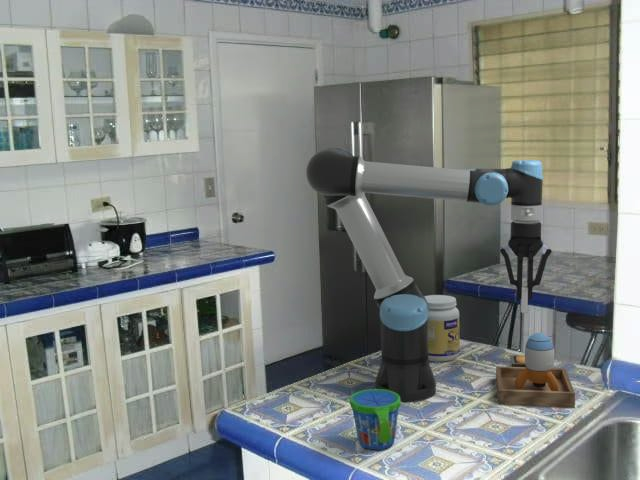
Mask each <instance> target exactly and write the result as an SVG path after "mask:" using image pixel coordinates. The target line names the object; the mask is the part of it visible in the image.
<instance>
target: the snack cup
mask: <svg viewBox="0 0 640 480" xmlns="http://www.w3.org/2000/svg"><path fill="white" fill-rule="evenodd" d="M349 405H350V407H351V410H352V413H353V420H354V424H355V430H356V435H357V439H358V443H359V444H360V446H362V447H363V448H364V449H368V450H375V451H377V450H380V451H382V450H384V449H388V448H390V447H392V446H393V445H394V443H395V440H396V434H397V433H396V432H397V425H398V416H399V409H400V407H401V405H402V401H401V400H400V396H399V395H398V394H397V393H395V392H393V391H389V390H383V389H375V388H371V389H370V388H369V389H364V390H359V391H357V392H355V393H353V394H351V396H350V398H349Z"/></svg>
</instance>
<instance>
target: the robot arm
mask: <svg viewBox="0 0 640 480" xmlns="http://www.w3.org/2000/svg"><path fill="white" fill-rule="evenodd" d="M306 165H307V166H306V169H305V171H306V172H305V174H306V179H307V182H308V184H309V186H310V187H311V188H312V190H314V191H315V192H317V194H321V196H322V198H323V200H324V202H325V204H326V206H327V207H328V208H331V209H334V210H335V212H336V213H337V215H338V217H339V219H340V221H341V223H342V226H343V227H344V229H345V231H346V233H347V235H348V238H349V239H350V240H351V242H352V245H353V248H355V251H356V253H357V254H358V257H359V258H360V260H361V263H362V265H363V266H364V269H365V270H366V272H367V274H368V277H369V278H370V280H371V283H372V285H373V286H374V288H375V292H374V296H373V299H374V300H375V303H376V305H377V307H378V308H379V318H380V341H381V344H380V345H381V347H380V348H381V350H380V353H381V354H380V355H381V361H380V362H381V363H380V365H379V368H378V372H377V376H376V379H375V382H374V383H375V384H374V385H375V386H374V389H383V390H389V391H393V392H395V393H397V394H398V395H399V396H400V400H401V403H402V402H407V403H408V402H409V403H410V402H411V403H412V402H418V401H424V400H427V399H429V398H432V397H433V396H434V395H436V392H437V382H436V379H435V376H434V373H433V370H432V368H431V365H430V361H428V315H429V308H428V303H427V300H426V298H425V297H424V296H425V295H424V294H423V293H422V292H421V291H420V289H419V287H418V286H417V283H416V282H415V279H414V278H413V277H411V276H408V275H407V274H405V272H404V270H403V268H402V267H401V264H400V262H399V261H398V258H397V257H396V254H395V252H394V250H393V248H392V247H391V245H390V243H389V241H388V239H387V237H386V235H385V232H384V230H383V228H382V227H381V225H380V223H379V221H378V218H377V217H376V215H375V213H374V211H373V209H372V206H371V204H370V202H369V201H368V199H367V197H366V194H376V195H377V194H378V195H388V196H398V197H408V198H409V197H411V198H413V197H414V198H421V199H422V198H423V199H434V200H442V201H443V200H446V201H455V202H456V201H457V202H468V203H477V204H483V205H485V206H497V205H499V204H501V203H502V202H504V200H505V199H510V201H511V202H510V220H511V221H512V222H511V223H510V234H509V235H510V237H509V239H508V244H506V245H504V246H501V247H500V248H499V252H500V254H501V255H502V256H503V259H504V262H505V267H506V268H505V269H506V271H507V276H508V280H509V284H510V285H512V286H515V287H516V298H517V300H520V313H523V314H528V307H529V306H528V302H529V301H528V300H532V299H533V288H534V287H535V286H540V284H541V282H542V278H543V275H544V271H545V267H546V264H547V261H548V258H549V257H550V255H551V254H552V253H553V252H552V249H551V248H550V247H548V246H546V245H544V242H543V240H542V223H541V222H540V221H542V216H543V215H542V211H543V209H542V207H543V204H542V203H543V202H542V201H543V185H544V184H543V181H544V176H543V163H542V162H541V161H539V160H538V159H537V160H536V159H520V160H519V159H517V160H512V162H511V166H510V167H508V168H470V169H459V168H457V169H456V168H449V167H448V168H447V167H446V168H445V167H437V166H436V167H435V166H433V167H432V166H426V165H425V166H422V165H413V164H412V165H411V164H402V163H401V164H399V163H390V162H377V161H367V160H366V161H365V160H364V159H363V157H362V156H355V155H353V154H352V153H351V152H349V151H348V150H347V149H345V148H342V147H334V146H333V147H329V148H326V149H322V150H319V151H318V152H316V153H314V154H313V156H311V158H310V159H309V160H308V162H307V164H306ZM510 250H511V251H512V252H513V253H514V255H515V256H516V279H515V277H514V273H513V268H512V265H511V260H510V256H509V254H510ZM540 250H541V251H540ZM539 251H540V253H541V255H540V259H539V263H538V266H537V270H536V273H535V277H533V276H534V257H535V256H536V255H537V254H538V253H539ZM524 258H526V259H527V268H526V271H527V272H526V274H527V275H526V285H523V271H524V270H523V265H524V264H523V261H524Z"/></svg>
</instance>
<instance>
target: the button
mask: <svg viewBox="0 0 640 480" xmlns="http://www.w3.org/2000/svg"><path fill="white" fill-rule="evenodd" d="M516 363H525V354H519V356H516Z"/></svg>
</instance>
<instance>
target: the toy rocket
mask: <svg viewBox="0 0 640 480" xmlns="http://www.w3.org/2000/svg"><path fill="white" fill-rule="evenodd" d="M553 343H554V342H553V341H552V339H551V337H550V336H549V335H547V334H545V333H542V332H535V333H532V334H531V335H530V336H529V337H528V339H527V341H526V344H525V347H524V348H525V349H524V355H525V365H526V369H524V370H522V371H521V372H520V373H519V374H518V375H517V377H516V380H515V387H516V390H520V389H521V388H522V387H523V385H524V384H525V383H526V380H529V381H532V382H533V386H535V387H545V385H546V384H545V383H548V386H549V388H550V390H551V391H559V387H558V383H557V380H556V378H555V377H554V375H553V374H552V370H553V368H554V365H555V347H554V344H553Z"/></svg>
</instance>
